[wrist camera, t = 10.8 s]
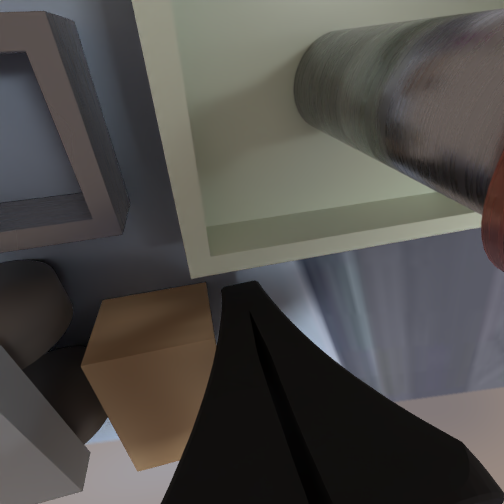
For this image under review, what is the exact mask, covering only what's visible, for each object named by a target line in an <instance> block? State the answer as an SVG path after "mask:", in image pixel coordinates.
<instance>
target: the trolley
mask: <svg viewBox="0 0 504 504" xmlns="http://www.w3.org/2000/svg"><path fill="white" fill-rule="evenodd" d="M72 316H73V305H72V303H71V300H70V299H69V297H68V295H67V293H66V291H65V289H64V288H63V286H62V284H61V282H60V280H59V279H58V277H57V275H56V273H55V271H54V270H53V268H52V267H51V266H49V265H48V264H45V263H43V262H39V261H32V260H21V261H11V262H5V263H0V504H38V503H42V502H46V501H49V500H53V499H56V498H60V497H63V496H67V495H71V494H74V493H78V492H81V491H83V486H84V482H85V477H86V472H87V467H88V462H89V456H90V451H89V450H88V449H87V448H86V447H85V445H84V444H85V443H86V442H88V441H89V440H90V439H91V438H92V437H93V436H94V435H95V434H96V432H97V431H98V430H99V429H100V428H101V426H102V425H103V424H104V422H105V421H106V419H107V417H108V416H107V414H106V412H105V410H104V409H103V407H102V405H101V403H100V401H99V399H98V397H97V396H96V394H95V392H94V390H93V388H92V386H91V385H90V383H89V381H88V379H87V377H86V375H85V373H84V372H83V370H82V368H81V363H82V360H83V357H84V354H85V351H86V348H87V347H82V346H71V347H64V348H60V349H57V350H54V351H51V352H49V353H46V352H47V351H48V350H49V349H50V348H52V347H53V346H54V345H55V344H56V342H57V341H58V340H59V339H60V338H61V337H62V335H63V334H64V333H65V331H66V330H67V328H68V326H69V324H70V322H71V320H72ZM45 353H46V354H45Z"/></svg>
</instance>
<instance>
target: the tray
mask: <svg viewBox="0 0 504 504" xmlns="http://www.w3.org/2000/svg"><path fill="white" fill-rule="evenodd" d="M132 5H133V9H134V14H135V19H136V24H137V28H138V33H139V38H140V42H141V47H142V52H143V56H144V61H145V66H146V70H147V75H148V80H149V84H150V89H151V94H152V99H153V103H154V108H155V113H156V117H157V122H158V127H159V131H160V136H161V141H162V145H163V150H164V155H165V159H166V164H167V169H168V174H169V178H170V183H171V188H172V192H173V197H174V202H175V206H176V211H177V216H178V220H179V225H180V230H181V235H182V239H183V244H184V249H185V253H186V258H187V263H188V267H189V272H190V277H191V279H193V278H199V277H205V276H210V275H216V274H221V273H227V272H233V271H238V270H244V269H249V268H255V267H261V266H266V265H272V264H277V263H283V262H289V261H294V260H300V259H305V258H311V257H317V256H322V255H328V254H333V253H339V252H345V251H350V250H356V249H361V248H367V247H373V246H378V245H384V244H389V243H395V242H401V241H406V240H412V239H417V238H423V237H429V236H434V235H440V234H445V233H451V232H456V231H462V230H468V229H473V228H479V227H481V221H482V215H481V214H479V213H477V212H475V211H473V210H471V209H469V208H467V207H465V206H463V205H462V204H460V203H458V202H456V201H454V200H452V199H450V198H448V197H446V196H444V195H442V194H440V193H439V192H437V191H435V190H433V189H431V188H429V187H427V186H425V185H423V184H421V183H419V182H418V181H416V180H414V179H412V178H410V177H408V176H406V175H404V174H402V173H400V172H398V171H396V170H395V169H393V168H391V167H389V166H387V165H385V164H383V163H381V162H379V161H377V160H375V159H373V158H372V157H370V156H368V155H366V154H364V153H362V152H360V151H358V150H356V149H354V148H352V147H351V146H349V145H347V144H345V143H343V142H341V141H339V140H337V139H335V138H333V137H331V136H329V135H328V134H326V133H324V132H322V131H320V130H318V129H316V128H314V127H312V126H311V125H309V124H308V123H307V122H306V121H304V119H303V118H302V117H301V115H300V114H299V112H298V110H297V107H296V104H295V101H294V94H293V86H294V78H295V73H296V70H297V67H298V64H299V62H300V60H301V58H302V56H303V54H304V53H305V51H306V50H307V49H308V47H309V46H310V45H311V44H312V43H313V42H314V41H315V40H316V39H318V38H319V37H321V36H322V35H324V34H326V33H328V32H331V31H335V30H342V29H350V28H357V27H365V26H373V25H380V24H388V23H396V22H403V21H411V20H418V19H426V18H434V17H441V16H449V15H457V14H464V13H472V12H480V11H487V10H495V9H502V8H504V0H132Z"/></svg>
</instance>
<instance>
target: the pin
mask: <svg viewBox="0 0 504 504" xmlns="http://www.w3.org/2000/svg"><path fill="white" fill-rule="evenodd" d="M293 94H294V101H295V104H296V107H297V110H298V112H299V114H300V115H301V117H302V118H303V119H304V121H306V122H307V123H308V124H309V125H311V126H312V127H314V128H316V129H318V130H320V131H322V132H324V133H326V134H328V135H329V136H331V137H333V138H335V139H337V140H339V141H341V142H343V143H345V144H347V145H349V146H351V147H352V148H354V149H356V150H358V151H360V152H362V153H364V154H366V155H368V156H370V157H372V158H373V159H375V160H377V161H379V162H381V163H383V164H385V165H387V166H389V167H391V168H393V169H395V170H396V171H398V172H400V173H402V174H404V175H406V176H408V177H410V178H412V179H414V180H416V181H418V182H419V183H421V184H423V185H425V186H427V187H429V188H431V189H433V190H435V191H437V192H439V193H440V194H442V195H444V196H446V197H448V198H450V199H452V200H454V201H456V202H458V203H460V204H462V205H463V206H465V207H467V208H469V209H471V210H473V211H475V212H477V213H479V214H481V215H482V221H481V235H482V242H483V246H484V250H485V252H486V254H487V256H488V258H489V260H490V261H491V262H492V263H493V264H494V265H495V266H496V267H497V268H499V269H500V270H502V271H503V272H504V8H502V9H495V10H487V11H480V12H472V13H464V14H457V15H449V16H441V17H434V18H426V19H418V20H411V21H403V22H396V23H388V24H380V25H373V26H365V27H357V28H350V29H342V30H335V31H331V32H328V33H326V34H324V35H322V36H321V37H319V38H318V39H316V40H315V41H314V42H313V43H312V44H311V45H310V46H309V47H308V49H307V50H306V51H305V53H304V54H303V56H302V58H301V60H300V62H299V64H298V67H297V70H296V73H295V78H294V86H293Z"/></svg>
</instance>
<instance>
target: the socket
mask: <svg viewBox="0 0 504 504" xmlns="http://www.w3.org/2000/svg"><path fill="white" fill-rule="evenodd" d="M9 53H27V56H28V58H29V61H30V63H31V66H32V68H33V71H34V73H35V76H36V78H37V81H38V83H39V86H40V88H41V91H42V93H43V96H44V98H45V101H46V103H47V106H48V108H49V111H50V113H51V116H52V118H53V121H54V123H55V126H56V128H57V131H58V133H59V136H60V138H61V141H62V143H63V146H64V148H65V151H66V153H67V155H68V158H69V160H70V163H71V165H72V168H73V170H74V173H75V175H76V178H77V180H78V183H79V185H80V188H81V190H82V193H77V194H69V195H61V196H53V197H45V198H37V199H29V200H21V201H13V202H5V203H0V253H3V252H9V251H16V250H23V249H29V248H36V247H43V246H49V245H56V244H63V243H70V242H76V241H83V240H90V239H96V238H103V237H110V236H117V235H122V234H123V230H124V226H125V222H126V219H127V215H128V211H129V207H130V201H129V198H128V194H127V191H126V188H125V185H124V181H123V178H122V175H121V172H120V168H119V165H118V162H117V159H116V155H115V152H114V149H113V146H112V142H111V139H110V136H109V133H108V130H107V126H106V123H105V120H104V117H103V113H102V110H101V107H100V104H99V100H98V97H97V94H96V91H95V87H94V84H93V81H92V78H91V74H90V71H89V68H88V65H87V61H86V58H85V55H84V52H83V48H82V45H81V42H80V39H79V35H78V32H77V29H76V26H75V22H74V21H73V20H70V19H67V18H64V17H61V16H58V15H55V14H52V13H49V12H46V11H31V12H0V54H9Z"/></svg>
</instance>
